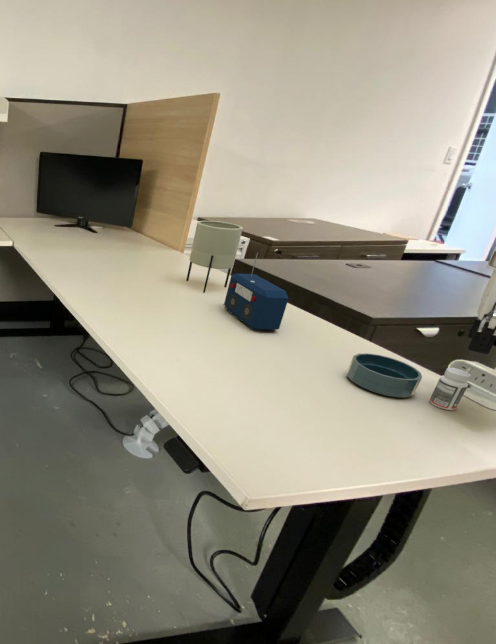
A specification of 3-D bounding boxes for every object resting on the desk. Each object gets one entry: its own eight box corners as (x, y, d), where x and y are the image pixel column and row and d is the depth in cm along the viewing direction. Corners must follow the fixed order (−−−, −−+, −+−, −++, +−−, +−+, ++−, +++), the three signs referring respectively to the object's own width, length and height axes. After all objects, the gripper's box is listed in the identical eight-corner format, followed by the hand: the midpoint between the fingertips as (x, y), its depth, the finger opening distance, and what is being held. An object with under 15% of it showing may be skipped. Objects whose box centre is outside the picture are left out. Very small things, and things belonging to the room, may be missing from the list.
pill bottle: (447, 401, 105) (463, 368, 101) (460, 412, 100) (478, 378, 97) (423, 397, 105) (439, 365, 102) (436, 409, 101) (453, 375, 98)
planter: (236, 294, 168) (253, 229, 159) (195, 293, 166) (210, 228, 156) (215, 281, 182) (230, 221, 172) (177, 280, 179) (190, 219, 170)
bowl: (427, 397, 105) (436, 378, 103) (380, 401, 102) (389, 381, 100) (376, 370, 117) (384, 352, 115) (333, 372, 114) (340, 354, 112)
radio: (219, 307, 153) (234, 247, 145) (244, 307, 154) (260, 248, 146) (252, 332, 135) (271, 265, 126) (280, 333, 136) (301, 266, 127)
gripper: (548, 275, 81) (503, 363, 88) (538, 261, 93) (499, 339, 100) (491, 266, 85) (452, 351, 92) (488, 254, 98) (454, 329, 104)
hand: (477, 345), depth 96 cm, fingers open, 9 cm apart
